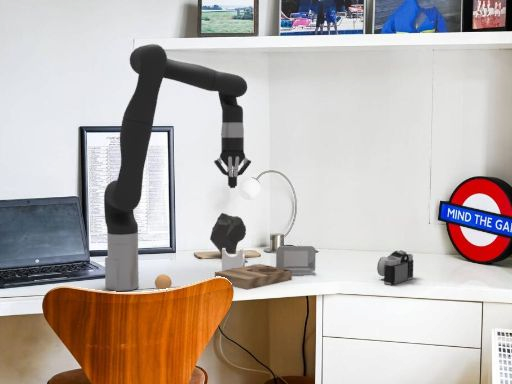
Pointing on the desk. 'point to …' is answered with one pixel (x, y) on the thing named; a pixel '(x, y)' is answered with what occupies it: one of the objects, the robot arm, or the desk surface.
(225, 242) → the dark grey rock
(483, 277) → the desk surface
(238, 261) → the bracket
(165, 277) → the ball
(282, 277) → the brown wooden flat block
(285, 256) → the toaster
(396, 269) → the camera
